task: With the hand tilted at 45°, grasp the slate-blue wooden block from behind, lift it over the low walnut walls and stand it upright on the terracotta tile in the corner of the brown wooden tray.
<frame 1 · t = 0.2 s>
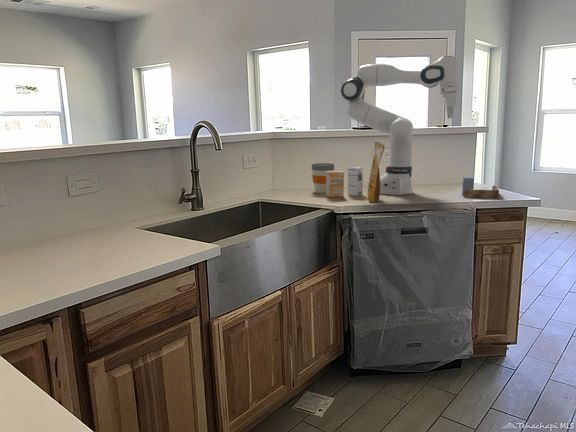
hand: (450, 118, 229), 39 cm above the counter, tool pointing down, fingers open, 8 cm apart
syrup box: (354, 195, 240), on the counter
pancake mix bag: (374, 200, 224), on the counter
supplement box: (334, 197, 235), on the counter
slate block: (467, 194, 234), on the counter
brown wooden tray: (485, 196, 228), on the counter
reusable coffee cup: (322, 191, 252), on the counter
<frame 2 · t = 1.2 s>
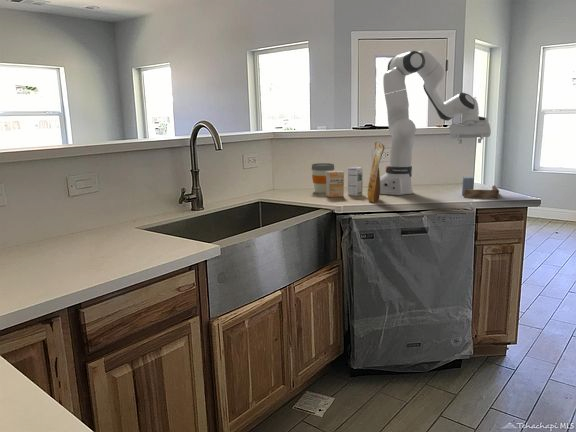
hand: (469, 142, 239), 26 cm above the counter, tool tilted 45°, fingers open, 8 cm apart
nothing on the counter moved.
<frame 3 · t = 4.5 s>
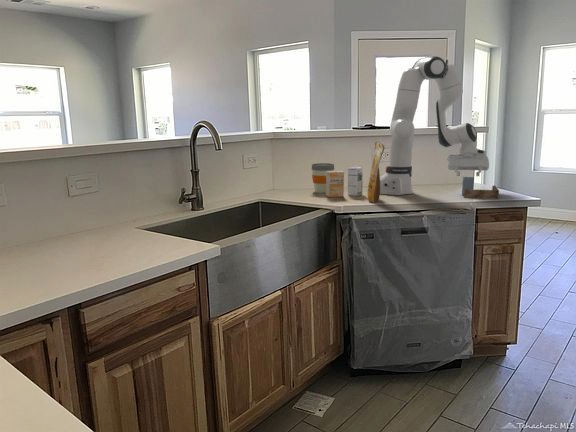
hand: (468, 175, 236), 9 cm above the counter, tool tilted 45°, fingers open, 8 cm apart
nothing on the counter moved.
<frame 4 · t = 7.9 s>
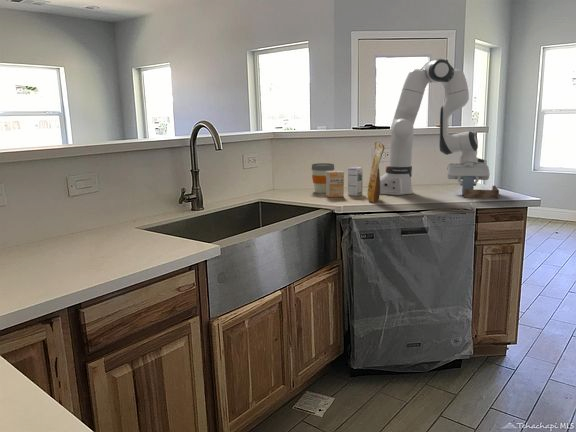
hand: (468, 185, 232), 5 cm above the counter, tool tilted 45°, fingers closed on slate block, 5 cm apart
slate block: (467, 194, 234), on the counter, touching gripper
everything else where it was.
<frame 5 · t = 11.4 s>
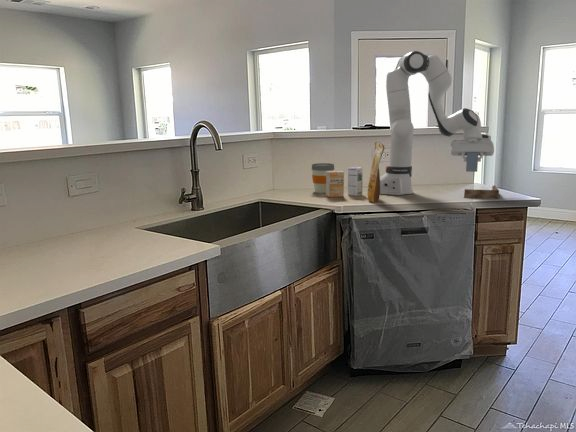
hand: (472, 160, 229), 18 cm above the counter, tool tilted 45°, fingers closed on slate block, 5 cm apart
slate block: (471, 171, 231), point 12 cm above the counter, touching gripper
everything else where it was.
when the fingers open (7 cm above the counter, at t = 15.0 s): slate block drops 1 cm, resting on brown wooden tray.
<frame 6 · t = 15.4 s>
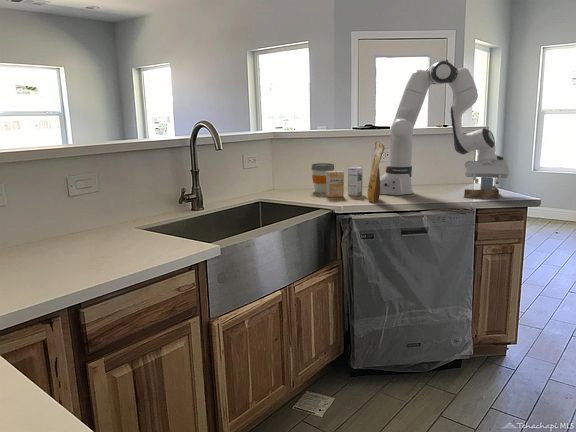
hand: (486, 183, 226), 7 cm above the counter, tool tilted 45°, fingers open, 8 cm apart
slate block: (485, 196, 228), resting on brown wooden tray
everything else where it was.
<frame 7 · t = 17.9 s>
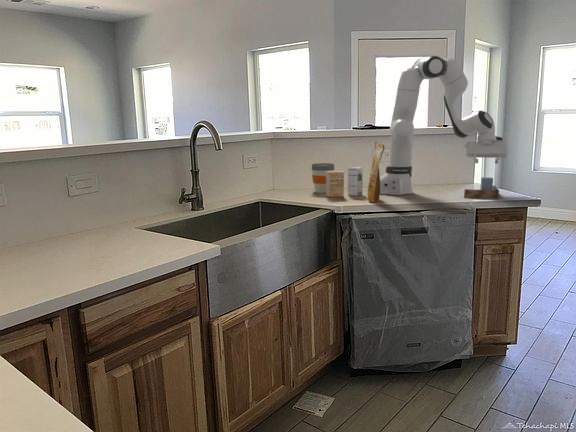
hand: (486, 162, 232), 16 cm above the counter, tool tilted 45°, fingers open, 8 cm apart
nothing on the counter moved.
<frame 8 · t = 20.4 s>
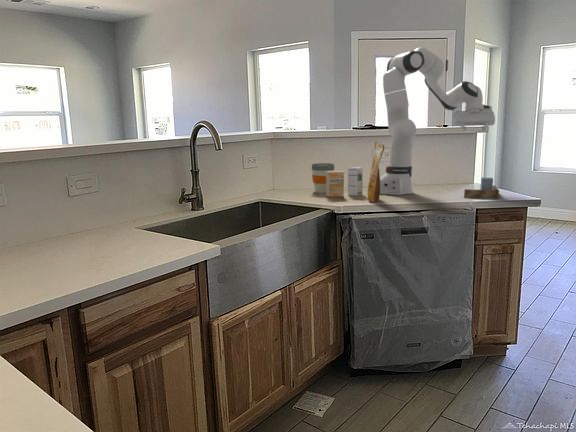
hand: (474, 130, 239), 32 cm above the counter, tool tilted 45°, fingers open, 8 cm apart
nothing on the counter moved.
at the end: slate block 0.0 cm off-centre on the brown wooden tray, point 0.3 cm above the brown wooden tray's base; slate block tilted 0°; the gripper is holding nothing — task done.
